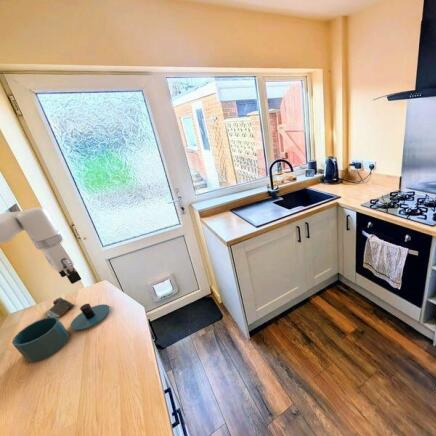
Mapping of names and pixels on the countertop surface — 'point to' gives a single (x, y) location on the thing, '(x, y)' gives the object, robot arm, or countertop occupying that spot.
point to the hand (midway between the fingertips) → (71, 278)
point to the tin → (41, 339)
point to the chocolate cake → (58, 307)
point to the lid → (89, 316)
